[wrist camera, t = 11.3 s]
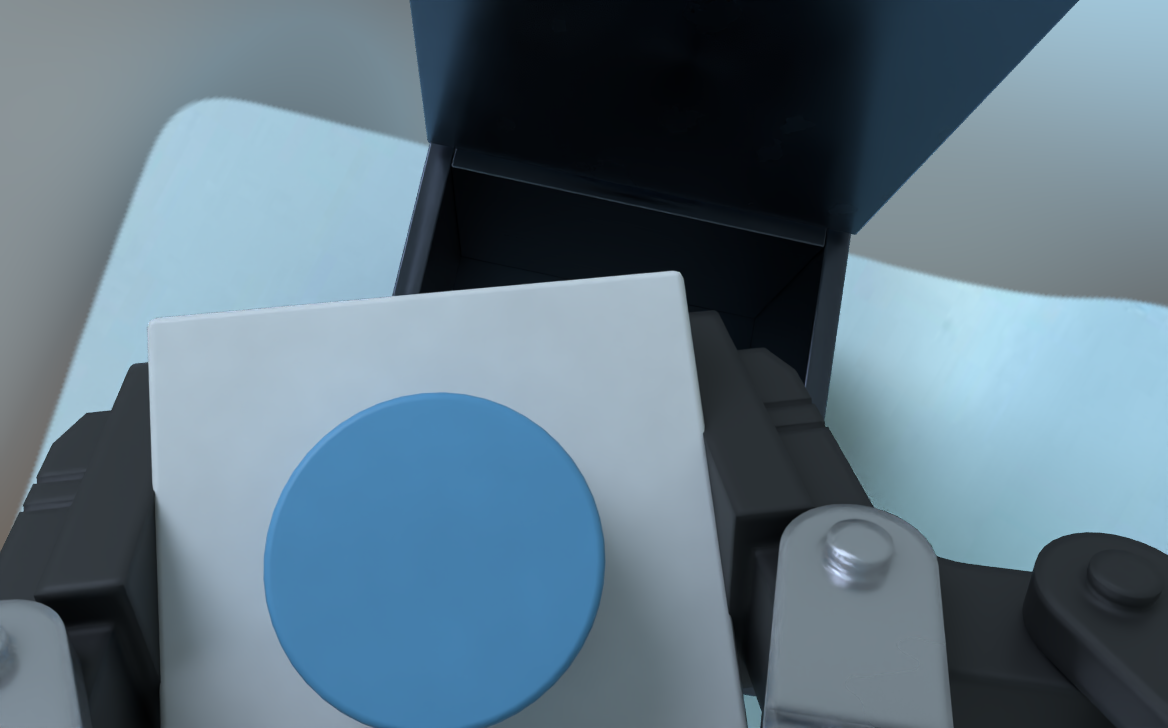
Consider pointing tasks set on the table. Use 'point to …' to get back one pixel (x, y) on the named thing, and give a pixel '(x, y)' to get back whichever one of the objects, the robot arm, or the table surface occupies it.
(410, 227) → the black open box
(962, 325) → the table surface
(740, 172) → the lid
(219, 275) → the table surface
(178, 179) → the table surface
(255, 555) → the white box
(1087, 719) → the robot arm
